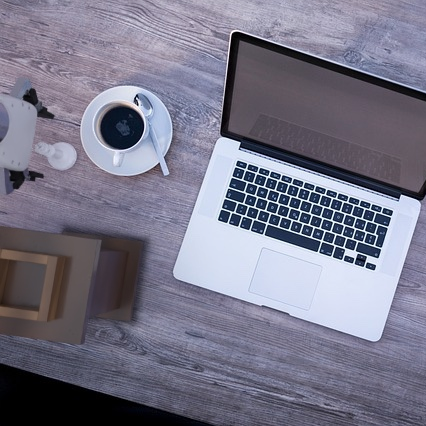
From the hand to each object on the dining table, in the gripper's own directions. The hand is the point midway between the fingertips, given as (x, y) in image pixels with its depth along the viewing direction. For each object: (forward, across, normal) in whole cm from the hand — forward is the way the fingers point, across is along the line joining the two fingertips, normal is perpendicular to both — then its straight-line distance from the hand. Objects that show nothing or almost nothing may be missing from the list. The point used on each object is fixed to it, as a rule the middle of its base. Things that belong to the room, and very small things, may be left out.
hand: (40, 145), depth 92 cm
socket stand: (-13, +20, +9) cm, 25 cm away
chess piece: (+10, 0, -1) cm, 10 cm away
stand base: (+12, +20, +8) cm, 25 cm away
